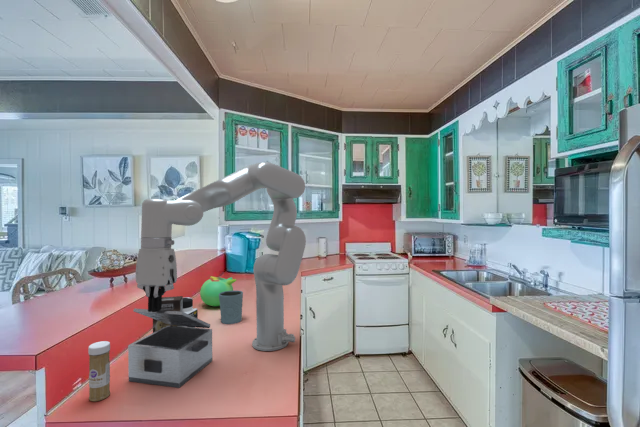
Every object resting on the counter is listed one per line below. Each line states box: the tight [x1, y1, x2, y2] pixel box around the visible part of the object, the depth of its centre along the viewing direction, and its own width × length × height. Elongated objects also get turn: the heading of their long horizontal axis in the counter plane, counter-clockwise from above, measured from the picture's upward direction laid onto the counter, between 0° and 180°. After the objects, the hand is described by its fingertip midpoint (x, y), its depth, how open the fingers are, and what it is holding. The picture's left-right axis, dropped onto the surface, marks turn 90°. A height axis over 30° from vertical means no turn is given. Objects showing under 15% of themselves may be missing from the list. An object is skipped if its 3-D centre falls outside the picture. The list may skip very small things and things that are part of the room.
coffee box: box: [152, 295, 184, 333], centre depth 115 cm, size 9×6×16 cm
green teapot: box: [199, 275, 237, 307], centre depth 163 cm, size 18×17×15 cm
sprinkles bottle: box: [87, 340, 111, 402], centre depth 82 cm, size 5×5×14 cm
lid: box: [133, 307, 211, 329], centre depth 97 cm, size 16×17×2 cm
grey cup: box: [219, 290, 244, 325], centre depth 140 cm, size 10×10×12 cm
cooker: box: [127, 325, 213, 389], centre depth 95 cm, size 20×16×10 cm
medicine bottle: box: [183, 296, 199, 328], centre depth 131 cm, size 7×7×12 cm
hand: (154, 310), depth 89 cm, fingers closed
